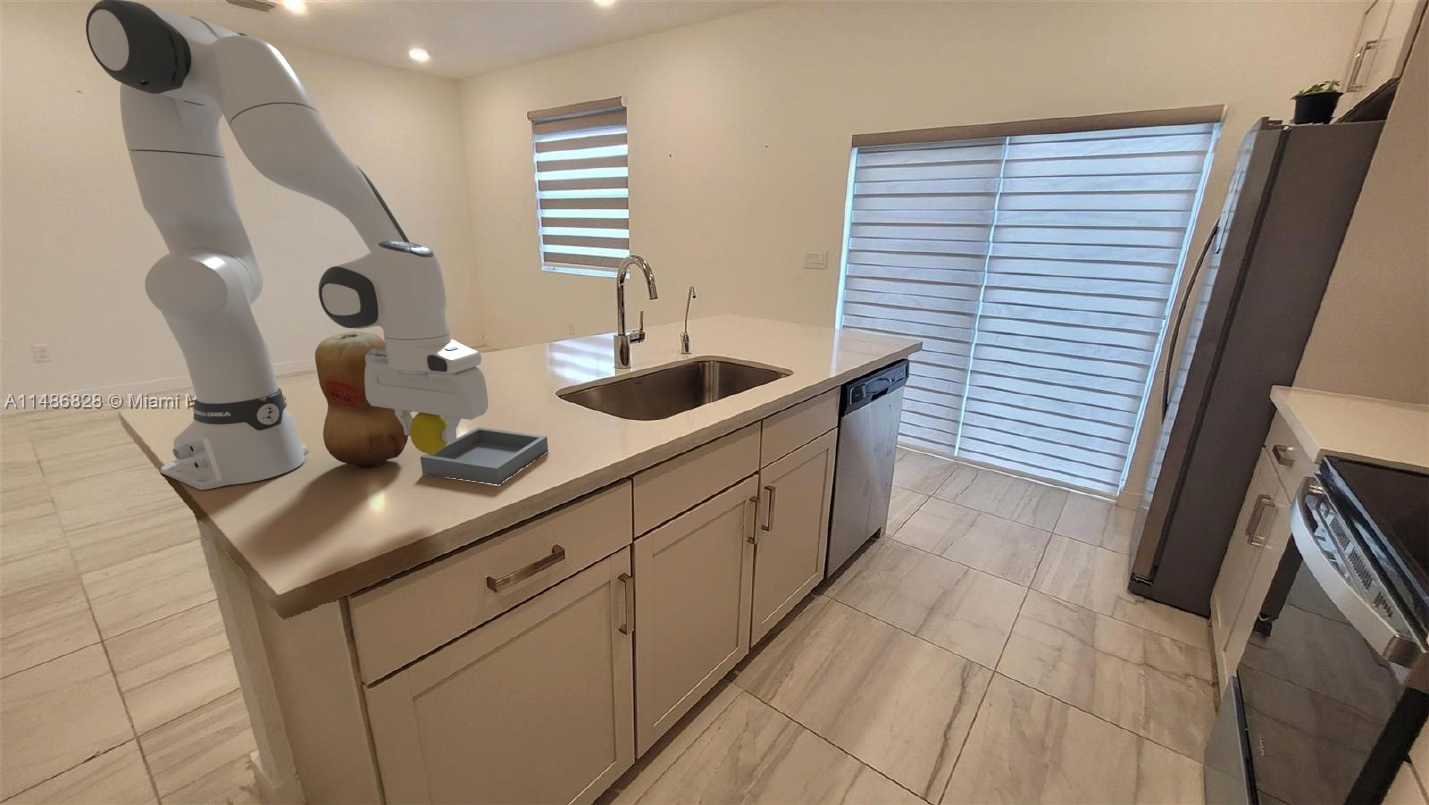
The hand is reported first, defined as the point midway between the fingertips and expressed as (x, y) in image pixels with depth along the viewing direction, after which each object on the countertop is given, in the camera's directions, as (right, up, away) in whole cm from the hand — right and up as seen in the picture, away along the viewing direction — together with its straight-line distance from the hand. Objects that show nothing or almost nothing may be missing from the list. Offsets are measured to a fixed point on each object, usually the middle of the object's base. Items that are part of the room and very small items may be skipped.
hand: (430, 437), depth 88 cm
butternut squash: (-19, -6, +16) cm, 26 cm away
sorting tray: (+2, -6, +18) cm, 19 cm away
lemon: (0, -3, +1) cm, 3 cm away
